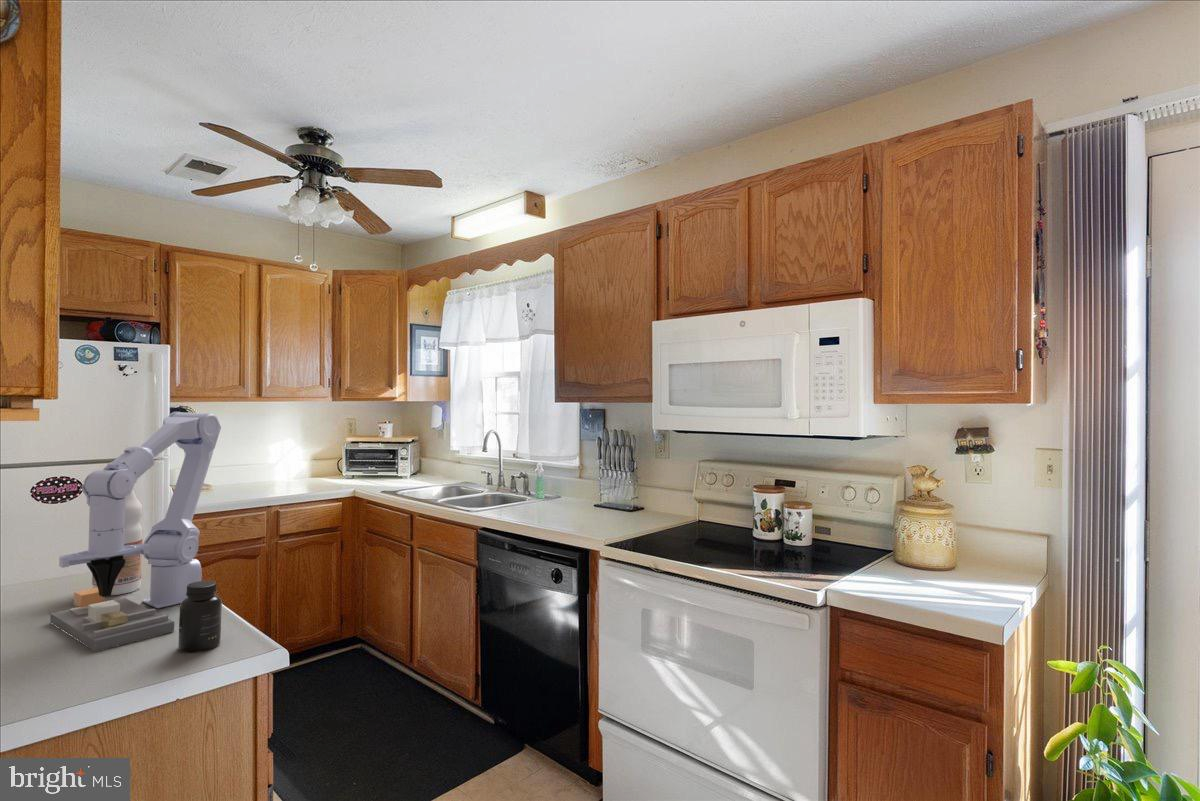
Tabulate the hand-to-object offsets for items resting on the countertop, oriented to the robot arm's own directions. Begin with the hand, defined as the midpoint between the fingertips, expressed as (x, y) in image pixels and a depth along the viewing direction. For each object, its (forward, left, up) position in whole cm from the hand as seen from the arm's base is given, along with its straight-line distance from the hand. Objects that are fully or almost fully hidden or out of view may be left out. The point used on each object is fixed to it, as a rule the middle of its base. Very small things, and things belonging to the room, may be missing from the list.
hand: (105, 595), depth 127 cm
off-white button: (0, 0, -4) cm, 4 cm away
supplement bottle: (-7, +25, -7) cm, 27 cm away
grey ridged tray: (-1, +1, -7) cm, 7 cm away
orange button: (0, -8, -3) cm, 9 cm away
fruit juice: (-11, -26, -7) cm, 29 cm away
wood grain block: (+1, +8, -4) cm, 9 cm away
